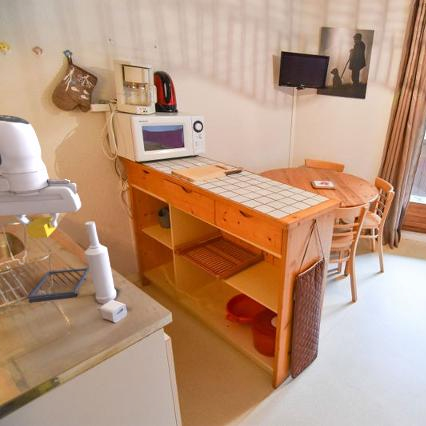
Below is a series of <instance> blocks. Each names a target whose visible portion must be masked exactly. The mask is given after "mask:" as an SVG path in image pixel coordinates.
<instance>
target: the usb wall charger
mask: <svg viewBox="0 0 426 426" xmlns="http://www.w3.org/2000/svg"><path fill="white" fill-rule="evenodd" d="M96 308H97V311H100V314H101V318H102V319H105V320H107V321H110V322H113V323H115V324H116V323H118V322H119V321H121V320H122V319H124V318H125V317H126V316H127V315H128V310H127V306H126V304H125V303H123V302H120V301H117V300H115V299H114V300H111V301H109V302H108V303H103V304H102V305H101V306H100V307H96Z"/></svg>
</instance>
